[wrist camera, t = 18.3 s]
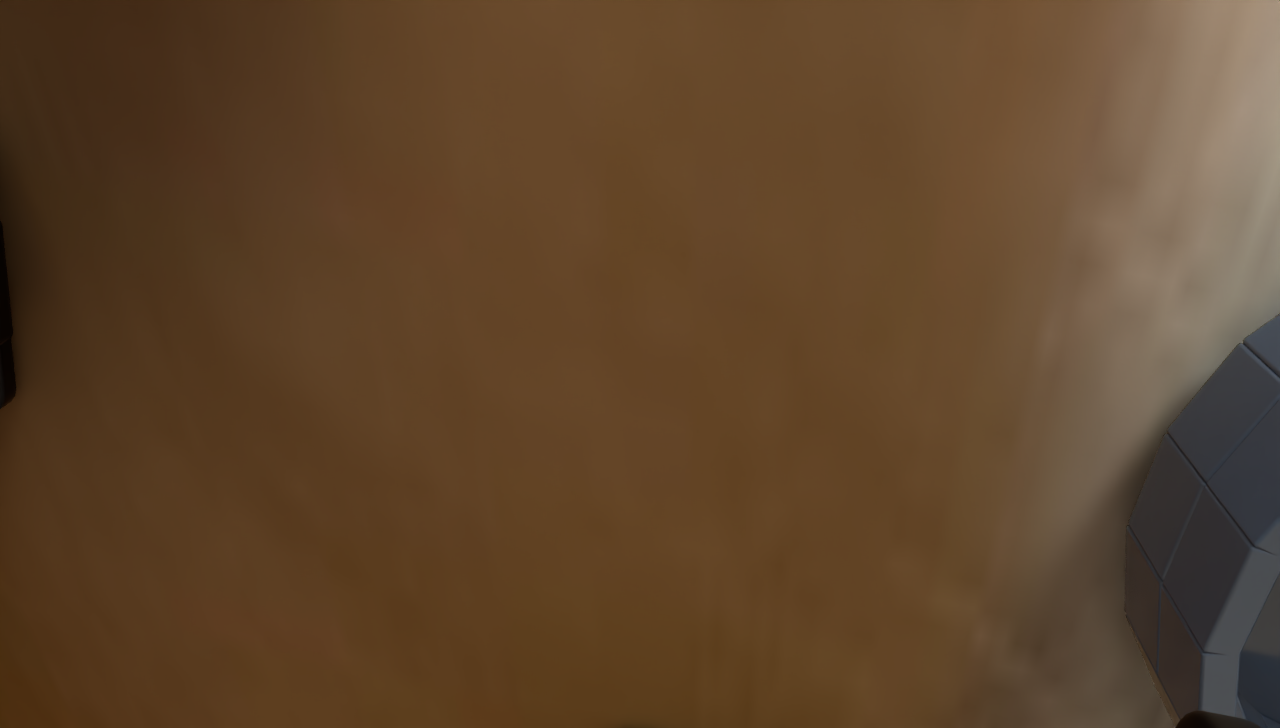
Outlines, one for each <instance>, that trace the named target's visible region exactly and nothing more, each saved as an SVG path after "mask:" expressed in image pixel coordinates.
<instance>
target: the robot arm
mask: <svg viewBox="0 0 1280 728" xmlns="http://www.w3.org/2000/svg"><path fill="white" fill-rule="evenodd" d="M12 334H13V327H12V317H11V307H10V297H9V287H8V278H7V268H6V258H5V248H4V238H3V228H2V223H1V221H0V409H1V408H2V407H4V406H5V405H7V404H8V403H10V402H11V401H12V399H13V398H14V397H15V393H16V382H15V372H14V362H13V352H12V343H11V336H12ZM1175 728H1261V727H1260V726H1258V725H1257V724H1255V723H1253V722H1251V721H1249V720H1246V719H1242V718H1237V717H1232V716H1227V715H1222V714H1216V713H1211V712H1206V711H1198V710H1197V711H1193V712H1189V713H1187V714H1186V715H1185V716H1184V717H1182V718H1181V719H1180V721H1179V722H1178V724H1177V726H1176V727H1175Z"/></svg>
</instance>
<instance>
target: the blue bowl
mask: <svg viewBox="0 0 1280 728" xmlns="http://www.w3.org/2000/svg"><path fill="white" fill-rule="evenodd" d="M1128 523H1129V525H1127V527H1126V568H1125V612H1126V618H1127V620H1128V623H1129V625H1130V627H1131V630H1132V632H1133V635H1134V637H1135V640H1136V642H1137V644H1138V647H1139V649H1140V652H1141V654H1142V657H1143V659H1144V662H1145V664H1146V666H1147V669H1148V671H1149V674H1150V676H1151V679H1152V681H1153V683H1154V686H1155V688H1156V690H1157V692H1158V694H1159V696H1160V698H1161V700H1162V702H1163V704H1164V706H1165V708H1166V710H1167V712H1168V714H1169V716H1170V718H1171V720H1172V721H1173V723H1174V725H1175V727H1176V726H1177V724H1178V722H1179V721H1180V719H1181V718H1182V717H1184V716H1185V715H1186V714H1187V713H1189V712H1193V711H1197V710H1198V711H1206V712H1211V713H1216V714H1222V715H1227V716H1232V717H1237V718H1242V719H1246V720H1249V721H1251V722H1253V723H1255V724H1257V725H1258V726H1260V727H1261V728H1280V314H1278V315H1277V316H1275V317H1274V318H1273V319H1271V320H1270V321H1268V322H1267V323H1266V324H1264V325H1263V326H1261V327H1260V328H1258V329H1257V330H1256V331H1254V332H1253V333H1251V334H1250V335H1248V336H1247V337H1246V338H1244V340H1243V344H1242V343H1239V344H1238V345H1237V346H1236V347H1235V348H1234V349H1233V350H1232V352H1231V353H1230V354H1229V355H1228V356H1227V358H1226V359H1225V360H1224V361H1223V362H1222V364H1221V365H1220V366H1219V367H1218V368H1217V370H1216V371H1215V372H1214V373H1213V374H1212V376H1211V377H1210V378H1209V379H1208V380H1207V382H1206V383H1205V384H1204V385H1203V386H1202V388H1201V389H1200V390H1199V391H1198V392H1197V394H1196V395H1195V396H1194V397H1193V398H1192V400H1191V401H1190V402H1189V403H1188V404H1187V406H1186V407H1185V408H1184V409H1183V410H1182V412H1181V413H1180V414H1179V415H1178V416H1177V418H1176V419H1175V420H1174V421H1173V422H1172V424H1171V425H1170V426H1169V427H1168V429H1167V433H1165V434H1164V435H1163V438H1162V440H1161V443H1160V445H1159V448H1158V450H1157V453H1156V455H1155V458H1154V460H1153V462H1152V465H1151V467H1150V470H1149V472H1148V475H1147V477H1146V480H1145V482H1144V485H1143V487H1142V489H1141V492H1140V494H1139V497H1138V499H1137V502H1136V504H1135V507H1134V509H1133V512H1132V514H1131V516H1130V519H1129V522H1128Z"/></svg>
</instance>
